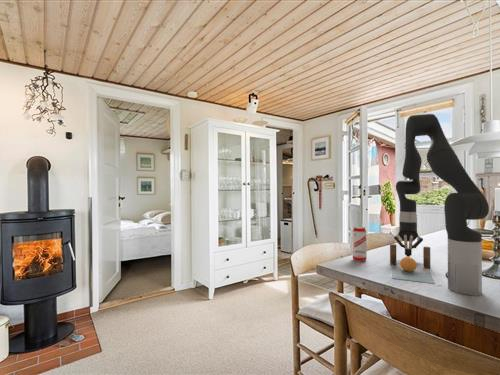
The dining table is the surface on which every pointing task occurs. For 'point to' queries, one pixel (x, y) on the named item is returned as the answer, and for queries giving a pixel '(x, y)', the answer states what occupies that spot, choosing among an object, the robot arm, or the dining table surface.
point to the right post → (426, 257)
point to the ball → (408, 264)
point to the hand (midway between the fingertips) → (408, 256)
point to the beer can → (359, 244)
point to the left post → (393, 254)
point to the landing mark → (412, 276)
